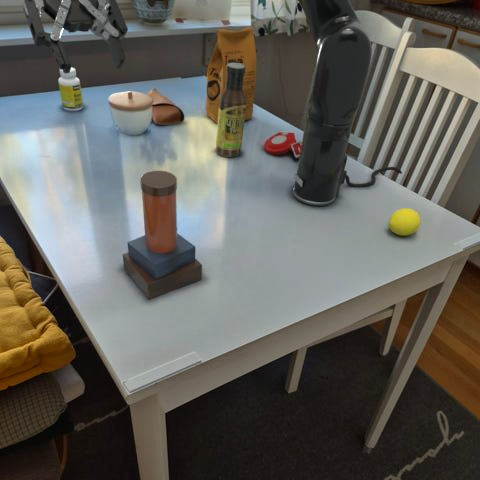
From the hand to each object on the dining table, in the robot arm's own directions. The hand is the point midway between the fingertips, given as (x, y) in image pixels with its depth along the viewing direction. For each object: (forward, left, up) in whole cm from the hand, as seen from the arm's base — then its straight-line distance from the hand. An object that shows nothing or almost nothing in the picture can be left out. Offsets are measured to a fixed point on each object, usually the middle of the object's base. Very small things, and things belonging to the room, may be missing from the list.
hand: (95, 68), depth 72 cm
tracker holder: (-50, -9, -27) cm, 58 cm away
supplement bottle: (-14, -57, -27) cm, 64 cm away
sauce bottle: (-37, -15, -27) cm, 48 cm away
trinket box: (-22, -37, -27) cm, 51 cm away
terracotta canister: (0, +19, -21) cm, 28 cm away
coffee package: (-50, -34, -27) cm, 66 cm away
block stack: (0, +19, -27) cm, 33 cm away
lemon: (-48, +31, -27) cm, 63 cm away
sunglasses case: (-33, -45, -27) cm, 62 cm away
